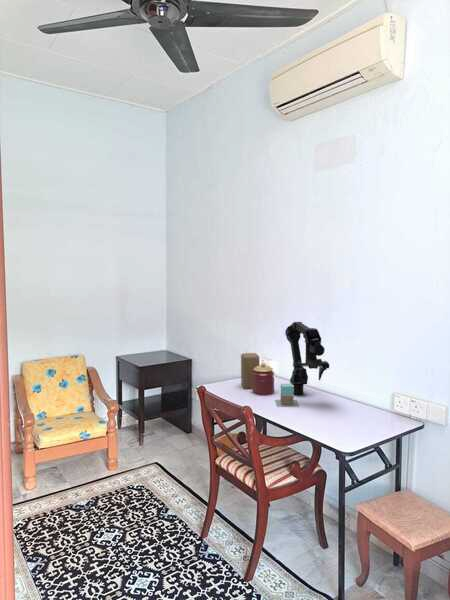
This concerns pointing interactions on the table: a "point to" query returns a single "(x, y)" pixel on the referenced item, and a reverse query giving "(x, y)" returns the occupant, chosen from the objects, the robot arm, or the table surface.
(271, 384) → the canister
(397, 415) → the table surface
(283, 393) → the teal block
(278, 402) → the mat
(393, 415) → the table surface
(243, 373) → the wooden block
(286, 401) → the walnut block
